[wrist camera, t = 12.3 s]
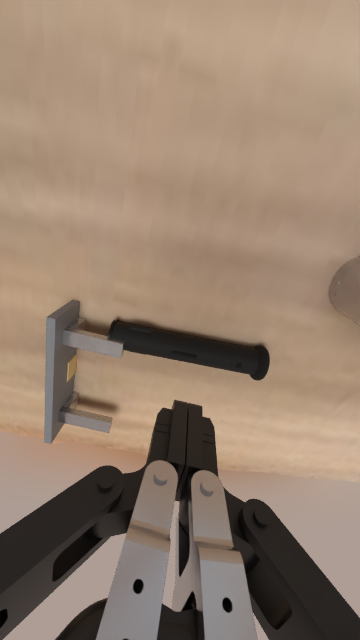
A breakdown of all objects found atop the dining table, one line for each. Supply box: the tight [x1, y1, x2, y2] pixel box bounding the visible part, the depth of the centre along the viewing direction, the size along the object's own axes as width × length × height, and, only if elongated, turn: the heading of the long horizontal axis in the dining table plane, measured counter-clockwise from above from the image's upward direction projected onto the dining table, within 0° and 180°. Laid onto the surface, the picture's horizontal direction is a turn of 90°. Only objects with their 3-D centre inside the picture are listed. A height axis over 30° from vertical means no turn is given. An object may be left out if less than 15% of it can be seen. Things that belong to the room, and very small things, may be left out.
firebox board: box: [44, 300, 80, 444], centre depth 41 cm, size 1×24×8 cm, turn 167°
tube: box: [108, 319, 270, 380], centre depth 40 cm, size 25×6×6 cm, turn 79°
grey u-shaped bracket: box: [59, 317, 125, 433], centre depth 42 cm, size 9×18×6 cm, turn 167°
